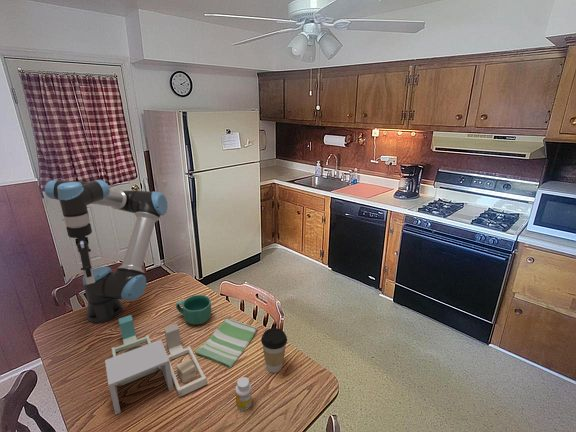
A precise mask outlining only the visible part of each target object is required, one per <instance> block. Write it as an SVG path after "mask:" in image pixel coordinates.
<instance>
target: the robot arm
mask: <svg viewBox="0 0 576 432" xmlns="http://www.w3.org/2000/svg"><path fill="white" fill-rule="evenodd" d="M44 193H45V195H46V197H48V198H49V199H51V200H56V201H59V203H60V208H61V211H62V216H63V217H62V219H61V221H63V222H64V224H65V226H66V232H67V236H68V237H69V238H70V239H71V238H73V239H75V246H76V247H77V251H78V253H79V255H80V261H81V265H82V267H81V268H80V271H83V274H84V275H82V285H83V290H84V292H85V296H86V299H87V307H86V311H85V312H86V314H85V315H86V319H87V321H88V322H90V323H92V324H100V323H101V324H102V323H105V322H110V321H112V320H113V319H115V318H117V317H119V316H120V314H121V313H123V310H124V307H123V304H122V301H135V300H137V299H139V298H140V297H141V296H142V295H143V294H144V292H145V289H146V287H147V277H146V276H145V275H144V274H145V272H144V270H143V266H144V261H145V258H146V255H147V252H148V247H149V245H150V241H151V238H152V235H153V231H154V228H155V223H156V222H158V221H159V220H160V219H161V216H164V215H165V214H167V210H168V201H167V197H166V195H165V194H164V193H162V192H159V191H147V190H145V191H144V190H120V189H115V190H110V186H109V185H108V183H107V182H106V181H104V180H102V179H95V180H91V181H75V180H74V181H72V180H61V179H60V180H59V179H56V180H54V179H52V180H49V181H48V182H46V183H45V186H44ZM91 204H92V205H97V206H98V205H99V206H105V207H106V206H107V207H111V208H112V209H113V210H119V211H123V212H127V213H128V212H129V213H131V214H134V215H135V218H136V219H135V222H134V227H133V229H132V233H131V235H130V239H129V241H128V245H127V248H126V251H125V254H124V258H123V260H122V264H121V265H119V266H118V267H117V269H116V272H113V271H112V269H111V267H110V266H97V267H96V268H94V267H93V263H92V262H93V261H92V257H91V252H92V249H91V248H90V247H89V244H90V242H89V237H88V236H89V235H91V234H92V232H93V229H92V225H91V223H90V222H91V219H90V214H89V211H88V205H91ZM121 300H122V301H121Z"/></svg>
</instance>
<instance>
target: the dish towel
mask: <svg viewBox="0 0 576 432" xmlns="http://www.w3.org/2000/svg"><path fill="white" fill-rule="evenodd" d="M257 330H258V327H257V326H253V325H249V324H247V323H243V322H240V321H238V320H235V319H231V318H229V317H227V318H226V319H224V320H223V321H222V323H221V324H219V326H218V327H217V328H216V329H215V330H214V332H213V333H212V334H211V335H210V336H209V337H208V338H207V340H206V341H205V342H204V343H203V344H202V345H201V346H199V347H198V348H196V349H195V351H194V353H195V354H196V355H197V356H199V357H202V358H205V359H208V360H210V361H213V362H216V363H218V364H220V365H221V366H223V367H226V368H228V369H231V368H232V367H233V366H234V364H235V363H236V362H237V360H238V359H239V358H240V357H241V355H242V354H243V352H244V351H245V349H246V348H247V347H248V345H249V344H250V343H251V342H252V339H253V338H254V336H255V334H256V332H257Z"/></svg>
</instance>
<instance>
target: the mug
mask: <svg viewBox="0 0 576 432" xmlns="http://www.w3.org/2000/svg"><path fill="white" fill-rule="evenodd" d="M181 306H182V307H181ZM175 308H176V310H177V311H178V313H180V314H181V315H183V318H184V320H185V322H187V323H188V324H191V325H201V324H204V323H206V321H208V320H209V319H210V317H211V314H212V303H211V299H210V297H208V296H207V295H204V294H195V295H192V296H191V295H190V296H188V297H187V298H186V299H185V300H179V301H177V303H176V304H175Z"/></svg>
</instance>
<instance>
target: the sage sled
mask: <svg viewBox="0 0 576 432" xmlns="http://www.w3.org/2000/svg"><path fill="white" fill-rule="evenodd" d="M118 323H119V329H120V332H121V333H120V334H121V338H122V339H121V340H122V342H123V344H122V345H119V346H113V347H111V352H112V357H115V356H117V353H118V352H121V351H125V350H126V349H128V348H130V347H132V346H136V345H141V344H143V343H145V342H147V344H150V343H152V342H151V339H150V336H149V334H147V335H145V336H144V337H141V338H139V339H138V338H137V336H136V330H135V324H134V321H133V316H132V314H129V315H126V316H123V317H120V318H118ZM160 369H161V368H160V367H158V368H155V369H153V370H150V371H148V372H146V373H143V374H141V375H138V376H136V377H133V378H131V379H129V380H126V381H124V382H121V383H119V384H117V386H118V388H119V387H122V386H125V385H126V384H129V383H132V382H134V381H136V380H138V379H141V378H143V377H146V376H148V375H151V374H153V373H156V372H158V371H160Z"/></svg>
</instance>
